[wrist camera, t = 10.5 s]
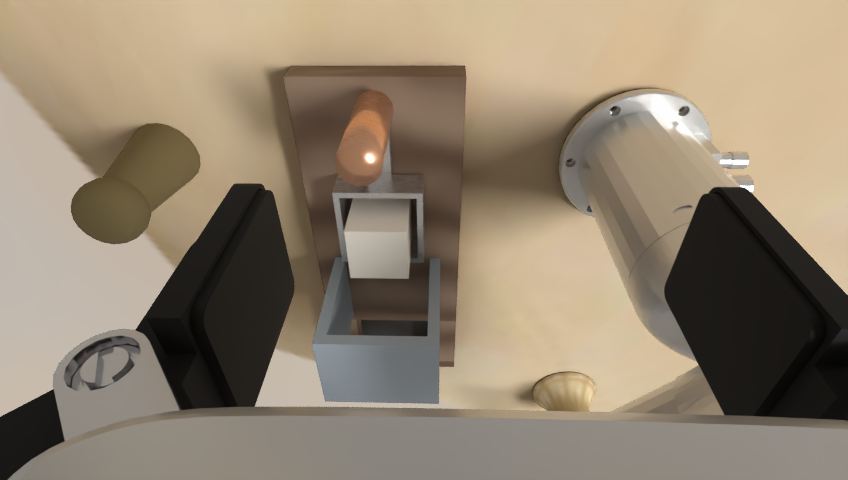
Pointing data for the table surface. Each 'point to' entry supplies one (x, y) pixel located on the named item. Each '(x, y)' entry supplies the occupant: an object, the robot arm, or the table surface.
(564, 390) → the hand bell
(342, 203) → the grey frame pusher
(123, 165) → the cork
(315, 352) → the tunnel
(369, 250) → the cream block
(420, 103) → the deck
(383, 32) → the table surface
